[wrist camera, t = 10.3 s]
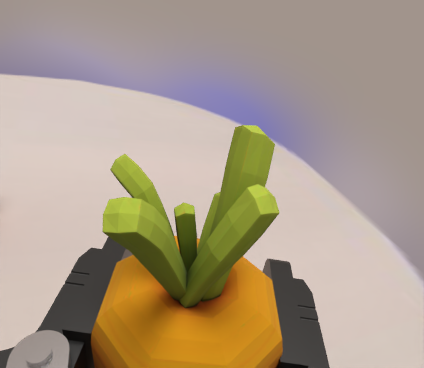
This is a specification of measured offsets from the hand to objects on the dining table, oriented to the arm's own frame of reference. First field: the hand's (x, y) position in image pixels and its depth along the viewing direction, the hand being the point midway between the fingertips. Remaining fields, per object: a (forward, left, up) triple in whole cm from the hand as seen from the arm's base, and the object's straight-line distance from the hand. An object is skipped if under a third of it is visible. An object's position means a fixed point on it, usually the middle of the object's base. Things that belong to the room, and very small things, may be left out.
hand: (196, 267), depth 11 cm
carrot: (+2, -2, -9) cm, 10 cm away
